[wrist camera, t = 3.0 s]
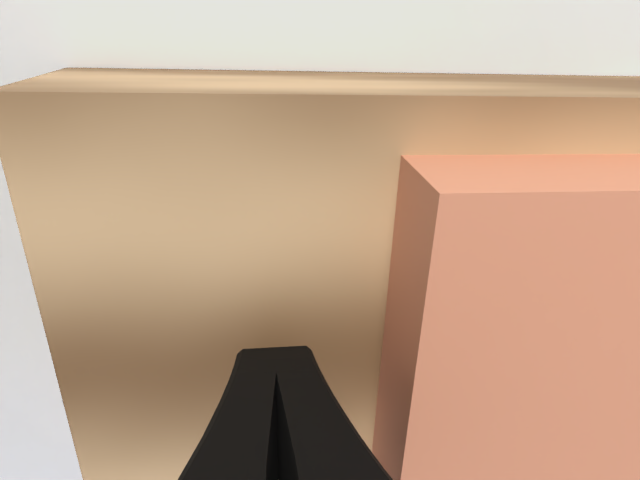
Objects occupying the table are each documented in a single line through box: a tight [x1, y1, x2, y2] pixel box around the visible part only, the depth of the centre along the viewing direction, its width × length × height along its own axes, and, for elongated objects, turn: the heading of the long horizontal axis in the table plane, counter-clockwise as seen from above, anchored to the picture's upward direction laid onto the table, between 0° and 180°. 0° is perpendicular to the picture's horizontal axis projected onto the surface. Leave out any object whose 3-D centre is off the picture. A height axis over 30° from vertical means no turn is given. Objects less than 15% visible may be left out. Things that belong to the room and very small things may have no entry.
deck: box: [0, 68, 640, 480], centre depth 12 cm, size 11×15×4 cm
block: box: [372, 154, 640, 480], centre depth 10 cm, size 9×6×2 cm, turn 178°
